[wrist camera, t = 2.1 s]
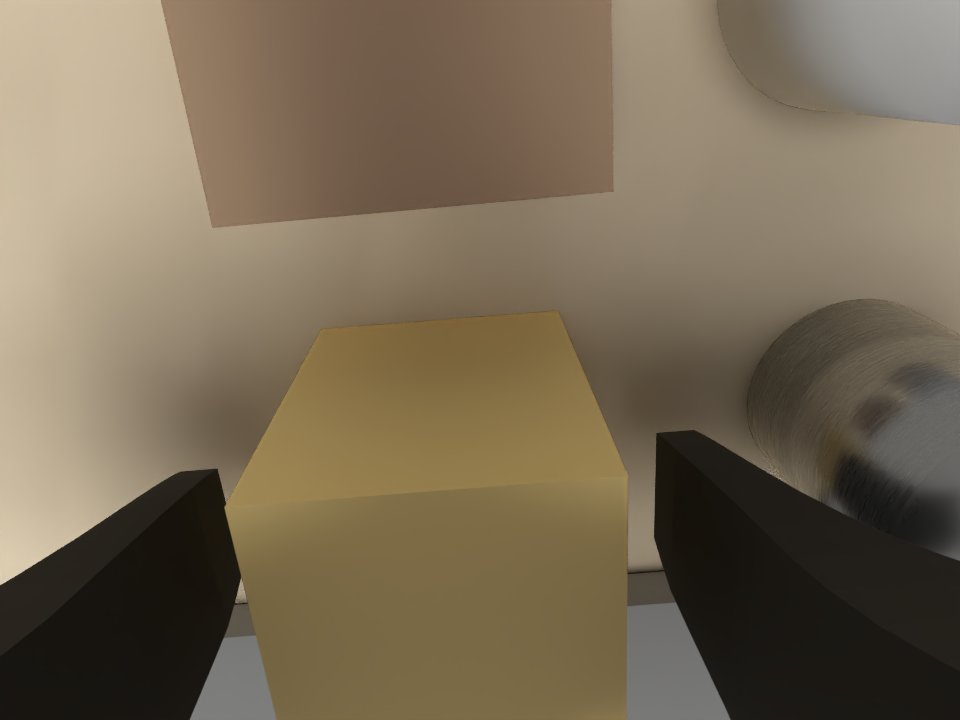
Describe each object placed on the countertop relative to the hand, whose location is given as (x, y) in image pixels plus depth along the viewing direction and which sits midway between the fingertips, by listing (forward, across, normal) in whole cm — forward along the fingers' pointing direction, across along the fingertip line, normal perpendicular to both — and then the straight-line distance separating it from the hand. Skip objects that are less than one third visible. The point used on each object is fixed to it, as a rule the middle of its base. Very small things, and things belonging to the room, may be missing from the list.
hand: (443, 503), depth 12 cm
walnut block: (+3, 0, -8) cm, 8 cm away
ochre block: (+3, 0, 0) cm, 3 cm away
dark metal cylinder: (+3, -8, 0) cm, 9 cm away
